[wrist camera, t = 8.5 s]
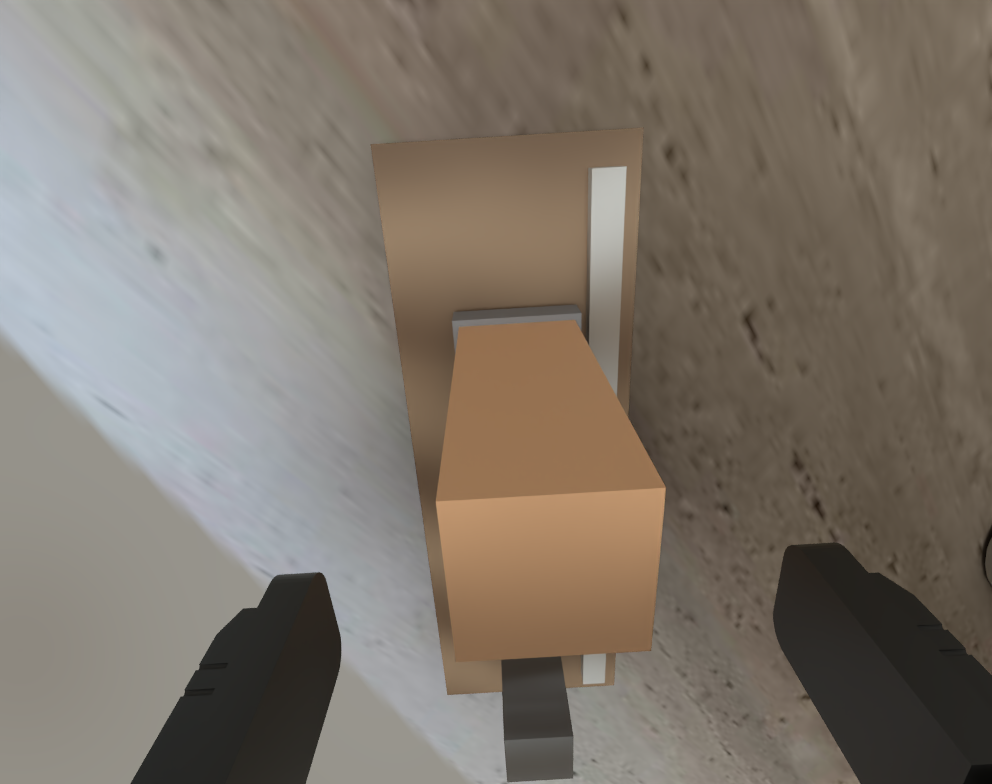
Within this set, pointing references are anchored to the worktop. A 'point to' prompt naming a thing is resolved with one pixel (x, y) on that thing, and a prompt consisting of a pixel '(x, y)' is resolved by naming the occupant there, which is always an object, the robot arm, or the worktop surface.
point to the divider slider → (543, 495)
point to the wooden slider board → (504, 285)
